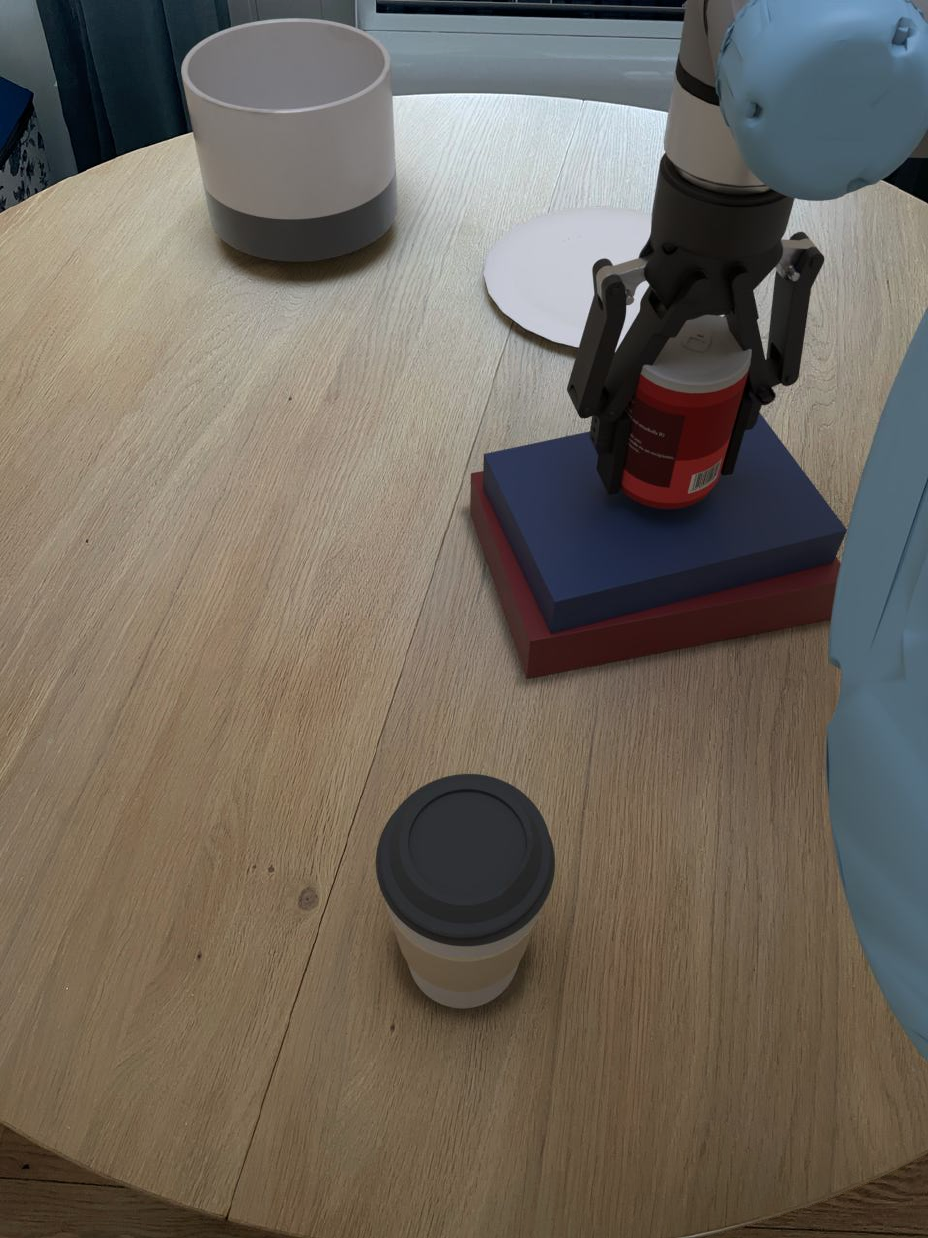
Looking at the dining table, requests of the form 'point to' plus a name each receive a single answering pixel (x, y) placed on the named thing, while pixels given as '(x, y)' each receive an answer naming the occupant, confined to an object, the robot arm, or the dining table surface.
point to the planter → (294, 136)
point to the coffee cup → (465, 884)
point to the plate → (563, 268)
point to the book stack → (650, 554)
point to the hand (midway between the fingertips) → (664, 471)
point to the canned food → (684, 415)
